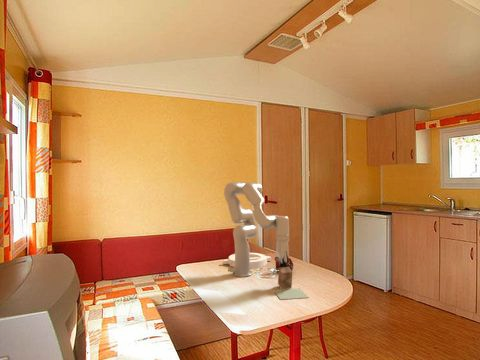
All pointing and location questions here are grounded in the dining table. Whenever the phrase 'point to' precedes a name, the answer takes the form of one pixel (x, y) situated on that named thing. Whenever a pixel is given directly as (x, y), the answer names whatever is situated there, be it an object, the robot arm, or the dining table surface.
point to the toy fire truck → (286, 263)
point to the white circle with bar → (251, 260)
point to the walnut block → (285, 278)
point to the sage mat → (290, 294)
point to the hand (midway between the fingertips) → (283, 270)
